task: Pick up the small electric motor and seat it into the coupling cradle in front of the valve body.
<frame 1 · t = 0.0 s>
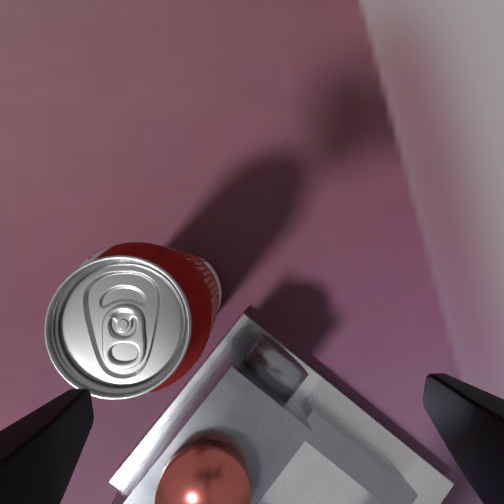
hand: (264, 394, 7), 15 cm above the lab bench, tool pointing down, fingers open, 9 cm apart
valve body: (305, 490, 22), on the lab bench
soda can: (180, 292, 23), on the lab bench
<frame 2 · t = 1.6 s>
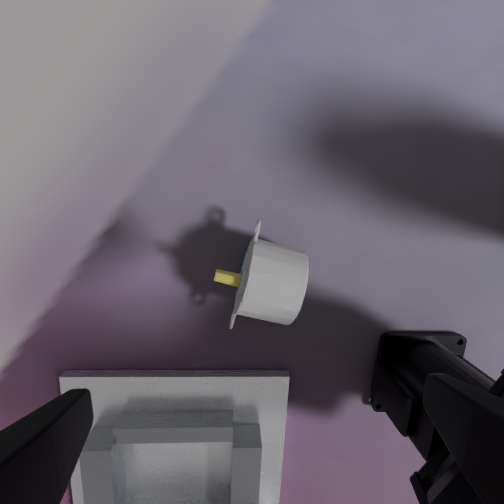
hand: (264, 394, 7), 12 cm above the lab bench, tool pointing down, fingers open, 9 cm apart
electric motor: (252, 265, 19), on the lab bench
valve body: (180, 469, 22), on the lab bench
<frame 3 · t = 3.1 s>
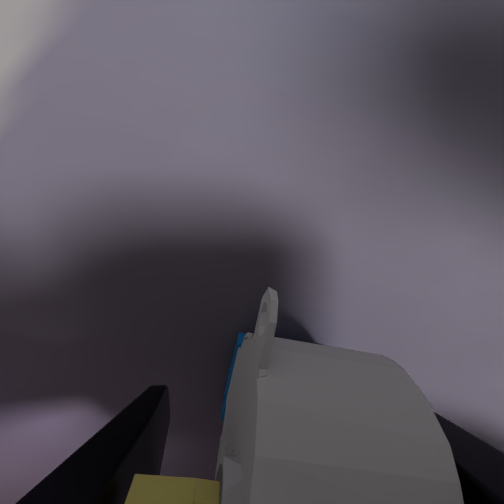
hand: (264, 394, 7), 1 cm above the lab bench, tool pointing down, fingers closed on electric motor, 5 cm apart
electric motor: (255, 366, 9), on the lab bench, touching gripper
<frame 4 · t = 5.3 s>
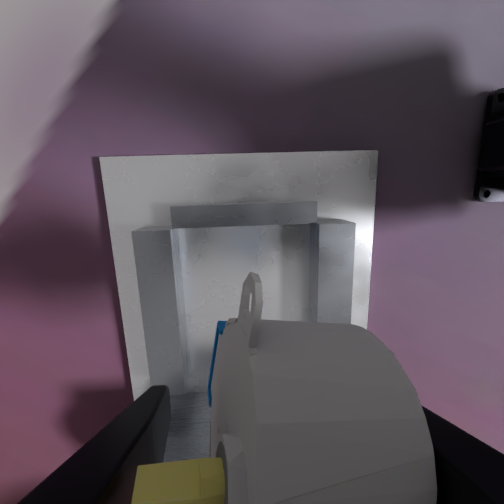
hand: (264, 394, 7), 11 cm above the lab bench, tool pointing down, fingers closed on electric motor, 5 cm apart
electric motor: (236, 351, 9), point 10 cm above the lab bench, touching gripper
valve body: (246, 296, 19), on the lab bench
when the fingers open (3 cm above the lab bench, at t = 7.2 s): electric motor drops 1 cm, resting on valve body.
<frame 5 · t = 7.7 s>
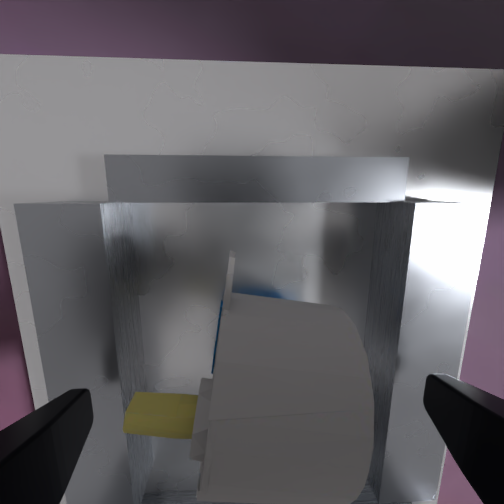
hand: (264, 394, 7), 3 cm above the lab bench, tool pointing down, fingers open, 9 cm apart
electric motor: (239, 329, 10), point 1 cm above the lab bench, touching valve body
valve body: (254, 331, 11), on the lab bench
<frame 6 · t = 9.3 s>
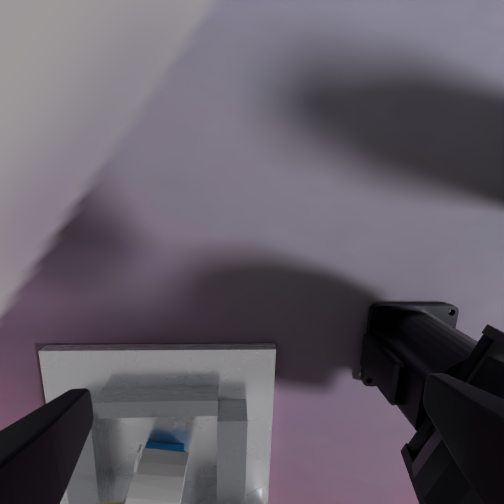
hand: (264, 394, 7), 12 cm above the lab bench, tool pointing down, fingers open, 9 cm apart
electric motor: (157, 451, 21), point 1 cm above the lab bench, touching valve body
valve body: (167, 448, 22), on the lab bench
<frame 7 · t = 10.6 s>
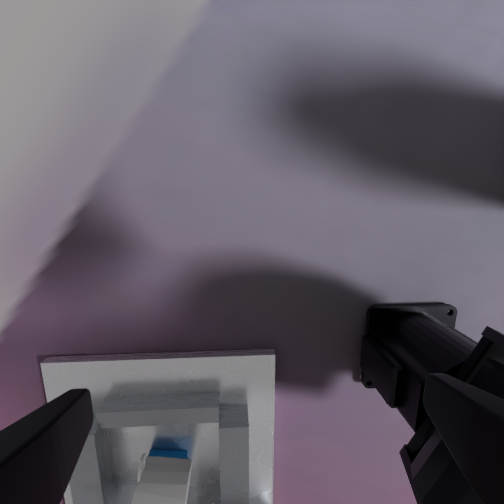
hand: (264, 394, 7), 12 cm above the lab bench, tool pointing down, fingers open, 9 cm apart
electric motor: (161, 458, 21), point 1 cm above the lab bench, touching valve body
valve body: (171, 455, 22), on the lab bench
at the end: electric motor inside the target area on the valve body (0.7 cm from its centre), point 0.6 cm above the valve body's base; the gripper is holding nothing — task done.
